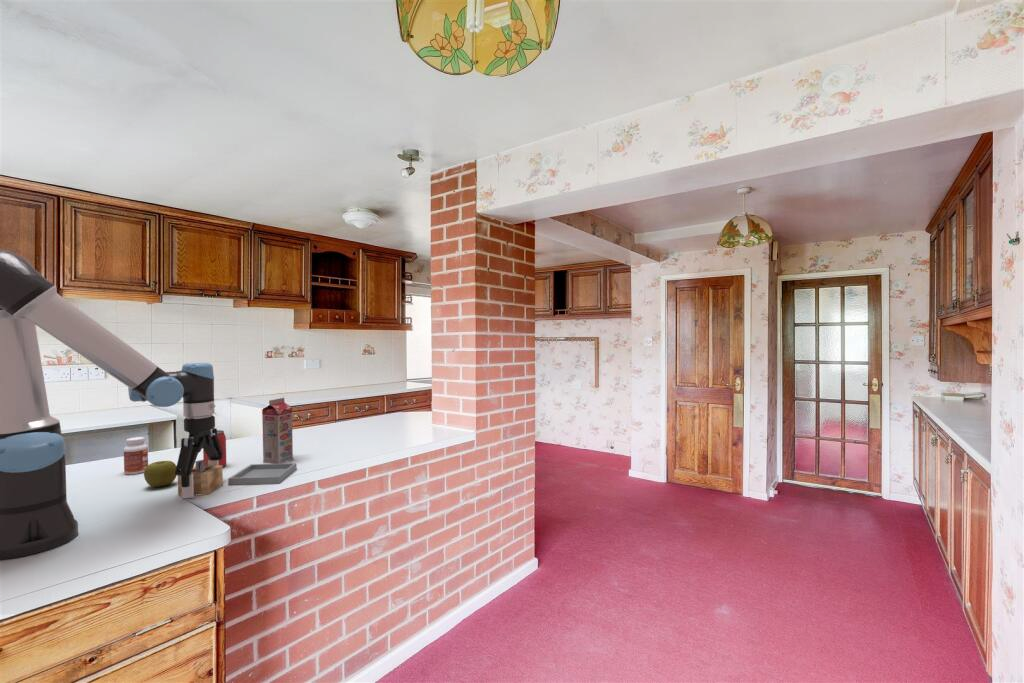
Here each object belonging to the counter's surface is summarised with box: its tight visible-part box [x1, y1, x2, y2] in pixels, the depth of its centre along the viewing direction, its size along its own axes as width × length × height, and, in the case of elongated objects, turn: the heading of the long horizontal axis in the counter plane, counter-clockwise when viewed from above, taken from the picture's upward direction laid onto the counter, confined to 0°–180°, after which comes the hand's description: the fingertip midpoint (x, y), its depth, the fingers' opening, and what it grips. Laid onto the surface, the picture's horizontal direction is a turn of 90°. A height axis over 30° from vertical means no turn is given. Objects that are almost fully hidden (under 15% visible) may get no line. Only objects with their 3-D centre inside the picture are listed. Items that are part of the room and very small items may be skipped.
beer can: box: [202, 429, 227, 468], centre depth 159 cm, size 7×7×12 cm
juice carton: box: [261, 397, 294, 464], centre depth 166 cm, size 7×7×22 cm
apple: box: [143, 460, 178, 488], centre depth 140 cm, size 8×8×7 cm
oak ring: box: [177, 465, 224, 496], centre depth 136 cm, size 8×8×6 cm
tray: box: [227, 462, 298, 486], centre depth 149 cm, size 15×15×2 cm
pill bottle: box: [123, 436, 149, 475], centre depth 154 cm, size 6×6×11 cm
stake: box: [195, 459, 206, 472], centre depth 136 cm, size 2×2×8 cm
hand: (201, 489), depth 137 cm, fingers open, 12 cm apart
